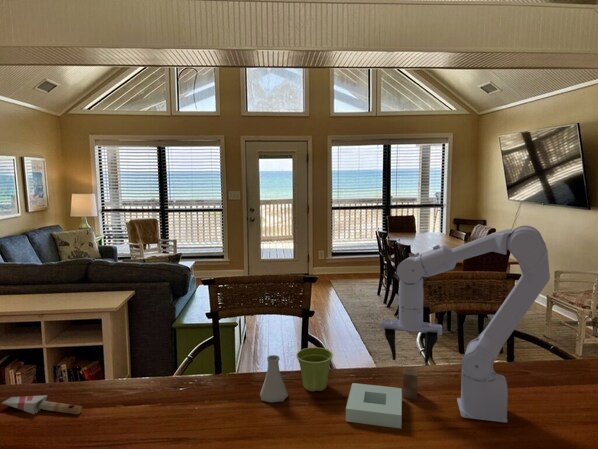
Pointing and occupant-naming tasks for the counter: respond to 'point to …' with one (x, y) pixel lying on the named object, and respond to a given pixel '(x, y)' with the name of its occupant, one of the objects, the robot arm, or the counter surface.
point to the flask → (273, 382)
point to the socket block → (375, 405)
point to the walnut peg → (410, 383)
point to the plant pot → (314, 367)
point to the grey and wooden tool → (40, 405)
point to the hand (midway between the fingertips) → (410, 360)
